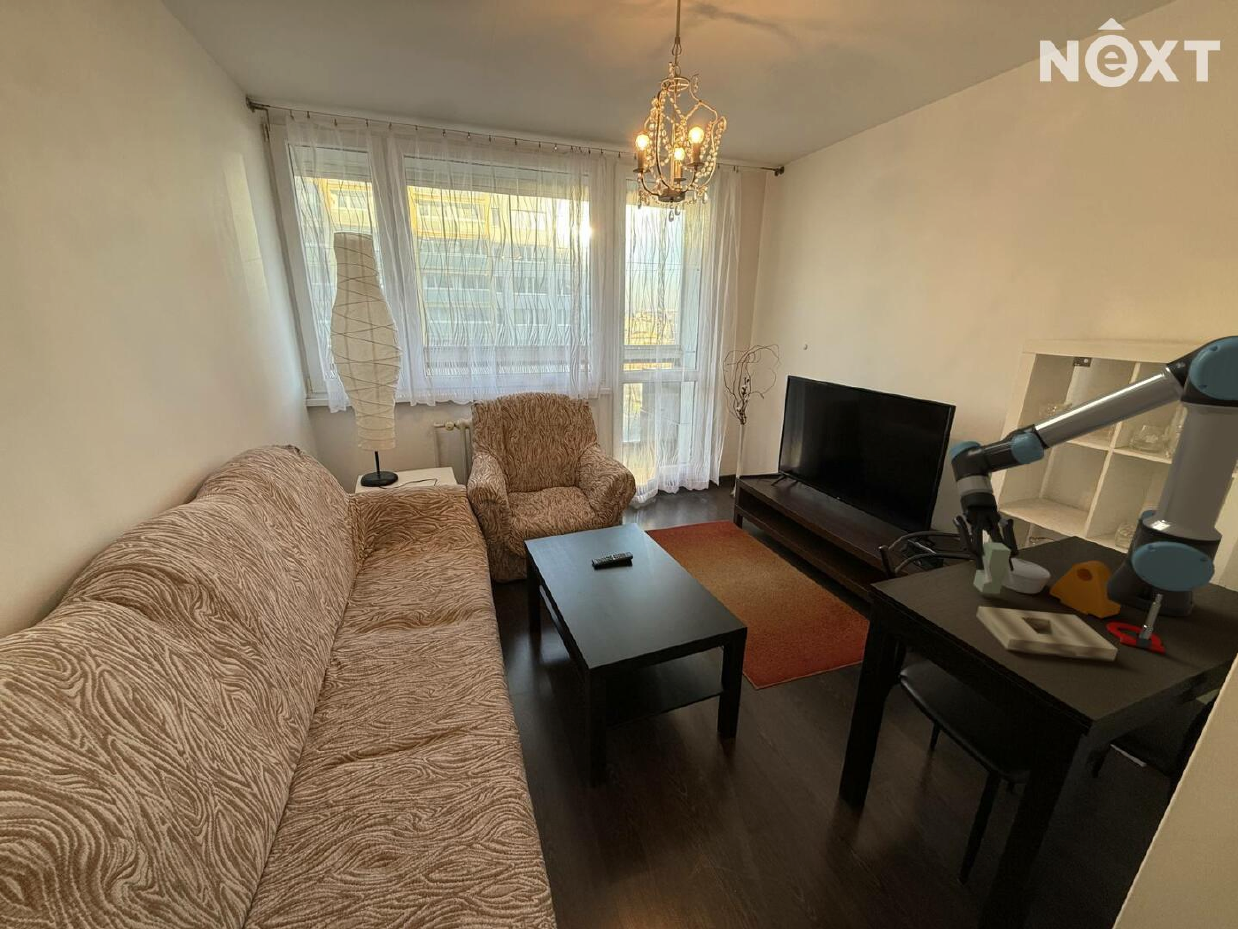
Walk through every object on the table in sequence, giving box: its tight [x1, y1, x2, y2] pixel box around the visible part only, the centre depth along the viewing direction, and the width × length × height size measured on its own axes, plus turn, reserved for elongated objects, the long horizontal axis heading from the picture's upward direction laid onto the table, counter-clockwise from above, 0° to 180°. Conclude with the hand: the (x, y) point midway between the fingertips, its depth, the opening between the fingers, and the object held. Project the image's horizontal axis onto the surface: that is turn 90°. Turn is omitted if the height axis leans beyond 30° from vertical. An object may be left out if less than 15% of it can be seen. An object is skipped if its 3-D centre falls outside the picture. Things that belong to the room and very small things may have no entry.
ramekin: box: [1002, 557, 1052, 595], centre depth 127 cm, size 11×11×5 cm
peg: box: [973, 541, 1011, 595], centre depth 120 cm, size 4×4×12 cm
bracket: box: [1049, 560, 1122, 619], centre depth 117 cm, size 11×7×12 cm, turn 18°
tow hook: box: [1106, 594, 1165, 654], centre depth 105 cm, size 8×13×9 cm
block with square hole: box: [975, 605, 1119, 663], centre depth 106 cm, size 20×12×3 cm, turn 81°
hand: (998, 583), depth 117 cm, fingers closed on peg, 4 cm apart
